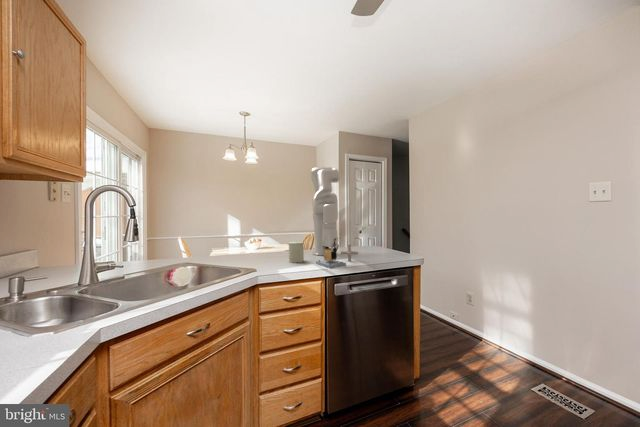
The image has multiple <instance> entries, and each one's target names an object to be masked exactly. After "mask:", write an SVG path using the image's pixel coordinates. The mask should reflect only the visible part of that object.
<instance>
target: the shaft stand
mask: <svg viewBox="0 0 640 427" xmlns="http://www.w3.org/2000/svg"><path fill="white" fill-rule="evenodd" d="M315 265H319V266H322V267H324V268H327V269H333V268H340V267H345V266H347V264H346V262H344V261H339V260H337V259H336V260H334V261H326V260H324V259H323V260H322V259H318V260H316V261H315Z"/></svg>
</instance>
